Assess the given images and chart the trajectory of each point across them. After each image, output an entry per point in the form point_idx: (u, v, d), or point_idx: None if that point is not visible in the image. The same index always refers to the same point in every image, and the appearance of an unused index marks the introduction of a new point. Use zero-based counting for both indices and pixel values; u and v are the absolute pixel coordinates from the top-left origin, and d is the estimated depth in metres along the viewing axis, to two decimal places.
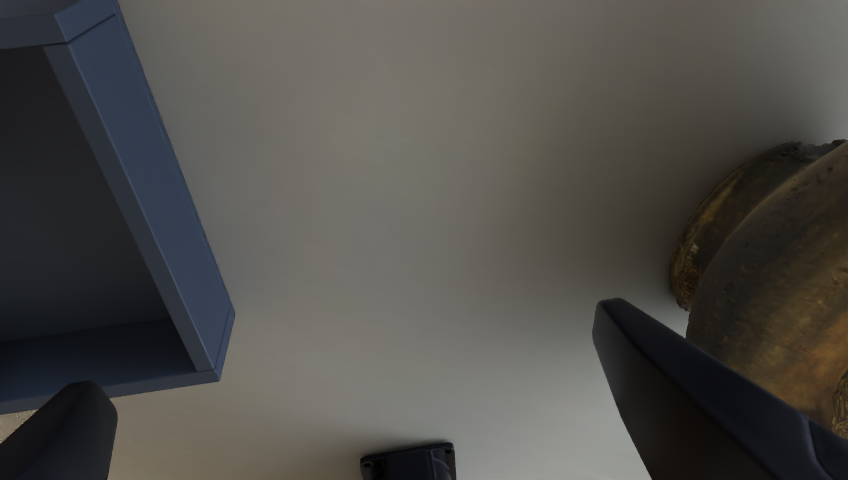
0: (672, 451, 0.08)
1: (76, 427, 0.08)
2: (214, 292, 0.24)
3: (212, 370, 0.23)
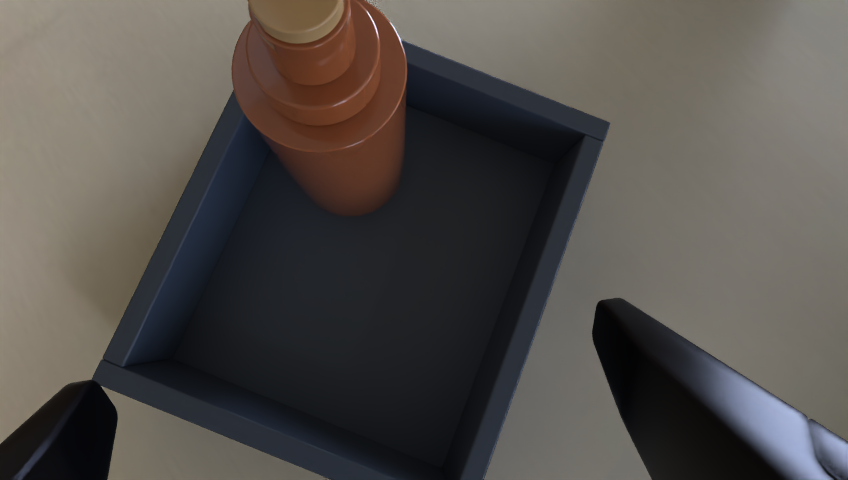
0: (672, 451, 0.08)
1: (76, 427, 0.08)
2: None
3: None
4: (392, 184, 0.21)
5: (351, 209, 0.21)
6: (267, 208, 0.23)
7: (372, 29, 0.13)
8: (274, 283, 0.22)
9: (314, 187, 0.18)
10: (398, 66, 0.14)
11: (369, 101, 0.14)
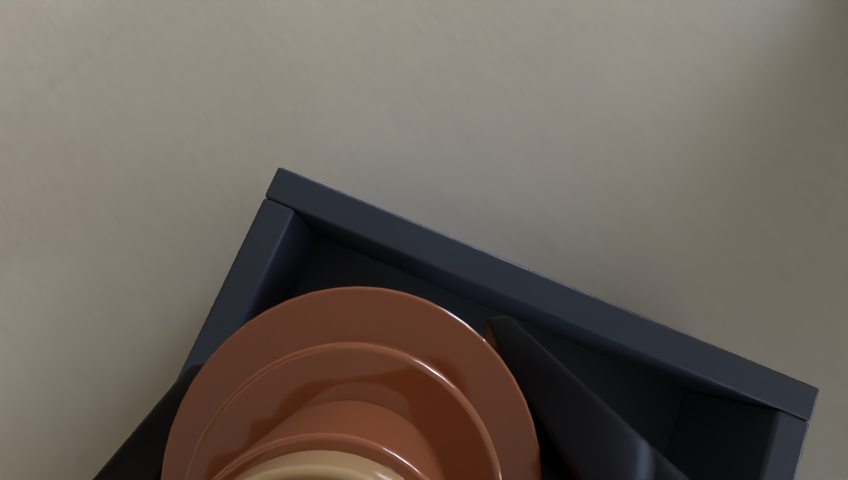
0: None
1: None
2: None
3: None
4: None
5: None
6: None
7: (489, 465, 0.05)
8: None
9: None
10: (524, 469, 0.07)
11: None
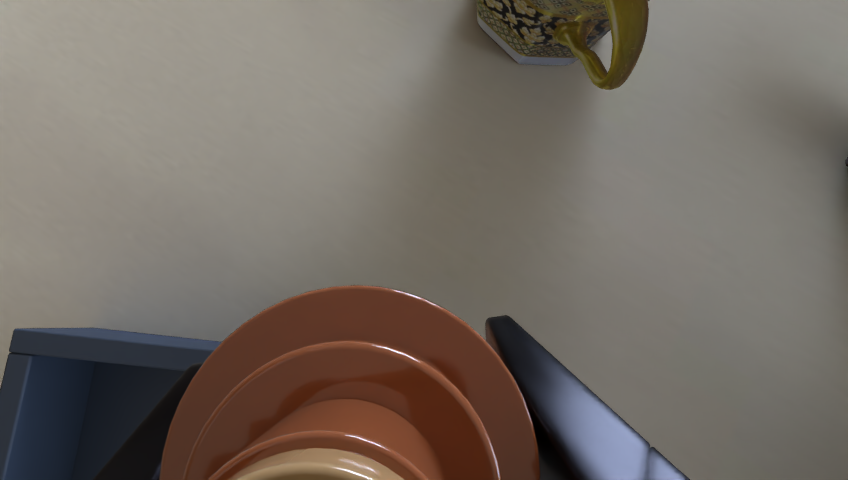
0: None
1: None
2: None
3: None
4: None
5: None
6: None
7: (487, 464, 0.05)
8: None
9: None
10: (522, 468, 0.07)
11: None
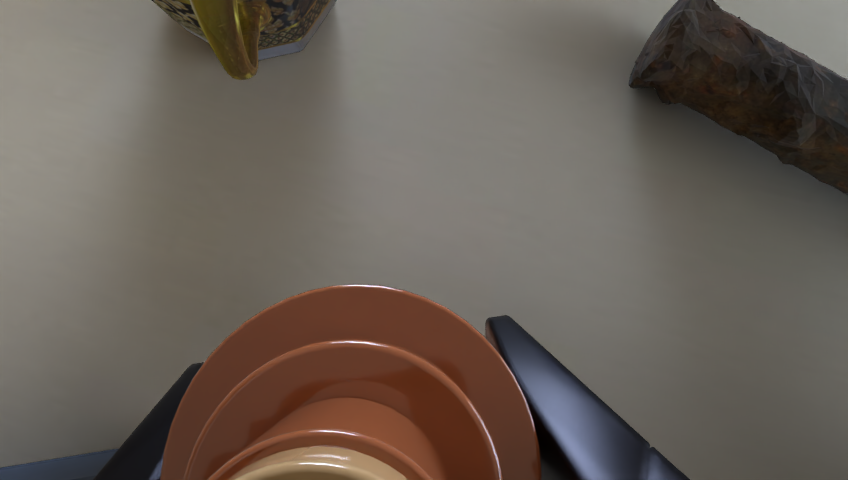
0: None
1: None
2: None
3: None
4: None
5: None
6: None
7: (488, 463, 0.05)
8: None
9: None
10: (524, 467, 0.07)
11: None
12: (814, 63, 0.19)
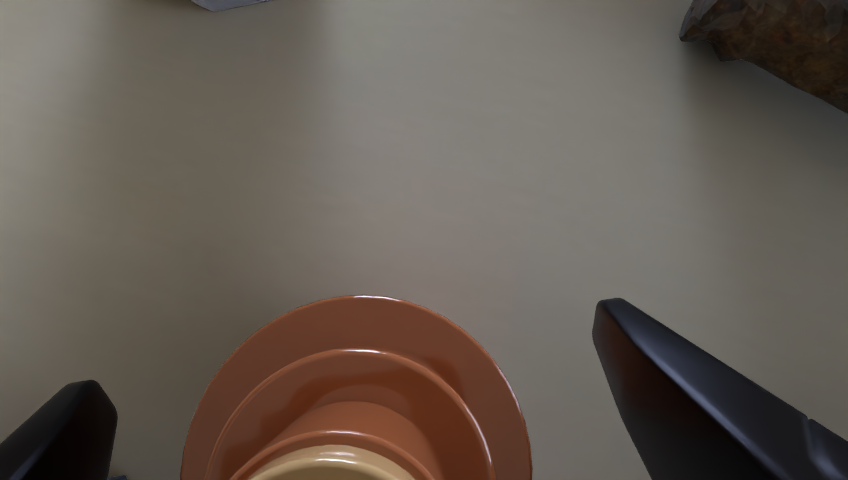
0: (672, 451, 0.08)
1: (76, 427, 0.08)
2: None
3: None
4: None
5: None
6: None
7: (482, 461, 0.06)
8: None
9: None
10: (516, 465, 0.07)
11: None
12: None
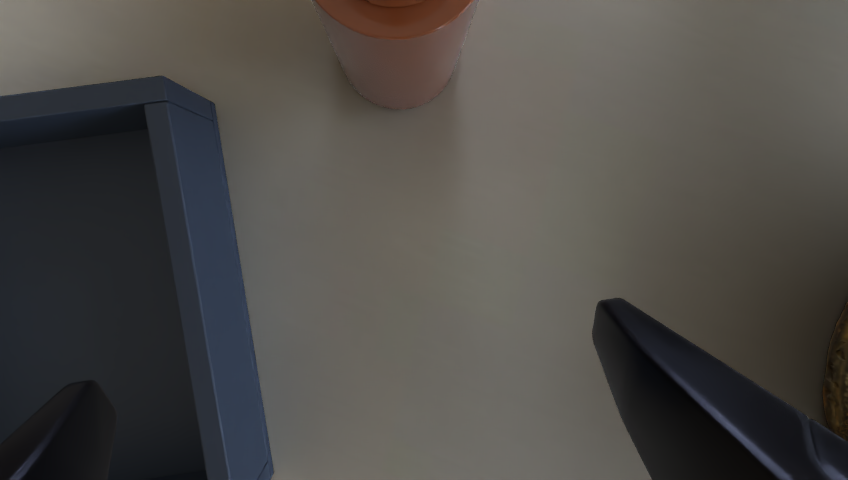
0: (672, 451, 0.08)
1: (76, 427, 0.08)
2: (253, 425, 0.20)
3: None
4: (448, 75, 0.19)
5: (402, 102, 0.20)
6: None
7: None
8: None
9: (371, 77, 0.17)
10: None
11: None
12: None
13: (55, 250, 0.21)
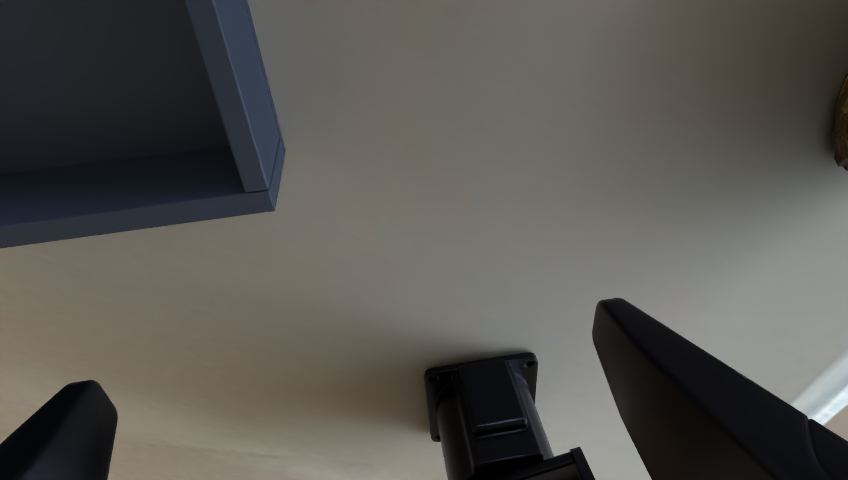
0: (672, 451, 0.08)
1: (76, 427, 0.08)
2: (264, 99, 0.18)
3: (265, 191, 0.17)
4: None
5: None
6: None
7: None
8: None
9: None
10: None
11: None
12: None
13: None
